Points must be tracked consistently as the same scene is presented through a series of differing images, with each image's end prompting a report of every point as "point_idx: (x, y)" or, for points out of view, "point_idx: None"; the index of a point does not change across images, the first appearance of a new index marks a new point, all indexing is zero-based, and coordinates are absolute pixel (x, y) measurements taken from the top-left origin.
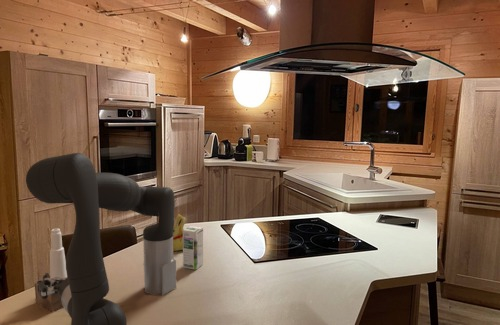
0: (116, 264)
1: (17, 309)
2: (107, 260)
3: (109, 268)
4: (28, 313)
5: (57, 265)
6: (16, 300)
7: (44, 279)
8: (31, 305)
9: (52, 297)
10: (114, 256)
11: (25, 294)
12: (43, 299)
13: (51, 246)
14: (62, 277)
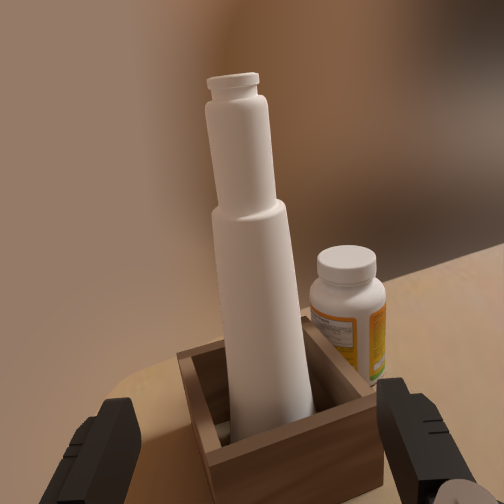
0: (501, 296)
1: None
2: (458, 270)
3: (477, 310)
4: (135, 497)
5: (248, 307)
6: (148, 380)
7: (42, 499)
8: (171, 436)
9: (214, 492)
10: (480, 259)
11: None
12: (199, 445)
13: (216, 189)
14: (278, 373)
